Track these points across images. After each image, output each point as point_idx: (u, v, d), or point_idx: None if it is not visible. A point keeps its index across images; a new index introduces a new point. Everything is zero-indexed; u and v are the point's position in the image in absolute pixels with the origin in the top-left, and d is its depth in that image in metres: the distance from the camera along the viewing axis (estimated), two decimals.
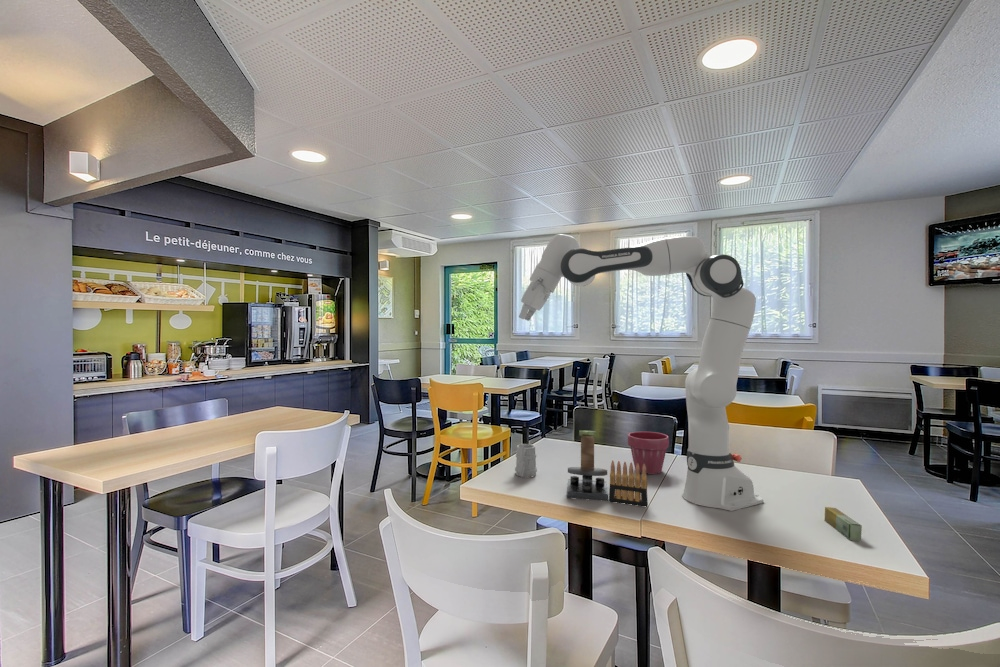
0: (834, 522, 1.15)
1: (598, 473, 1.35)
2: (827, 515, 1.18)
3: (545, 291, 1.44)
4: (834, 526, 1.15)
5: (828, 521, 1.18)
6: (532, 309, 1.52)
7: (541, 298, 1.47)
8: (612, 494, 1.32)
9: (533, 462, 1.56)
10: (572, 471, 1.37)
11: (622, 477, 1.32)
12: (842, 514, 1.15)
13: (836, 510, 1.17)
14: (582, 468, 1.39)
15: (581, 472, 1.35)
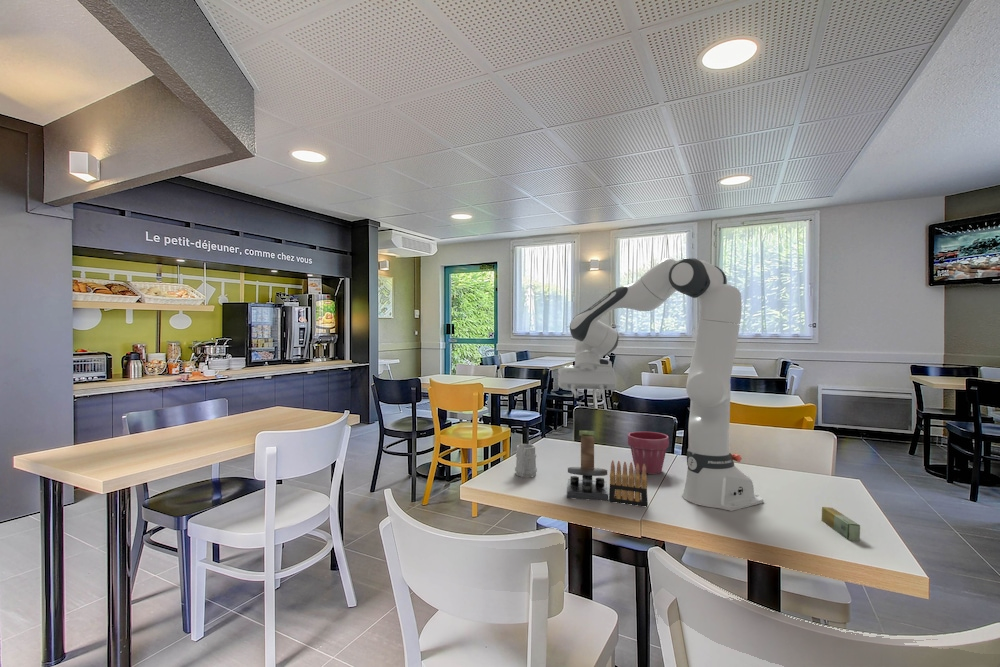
0: (832, 522, 1.15)
1: (598, 473, 1.35)
2: (824, 515, 1.18)
3: (581, 368, 1.62)
4: (832, 526, 1.15)
5: (825, 521, 1.18)
6: (599, 388, 1.57)
7: (590, 374, 1.60)
8: (612, 494, 1.32)
9: (533, 462, 1.56)
10: (572, 471, 1.37)
11: (622, 477, 1.32)
12: (840, 514, 1.15)
13: (833, 510, 1.17)
14: (582, 468, 1.39)
15: (581, 472, 1.35)
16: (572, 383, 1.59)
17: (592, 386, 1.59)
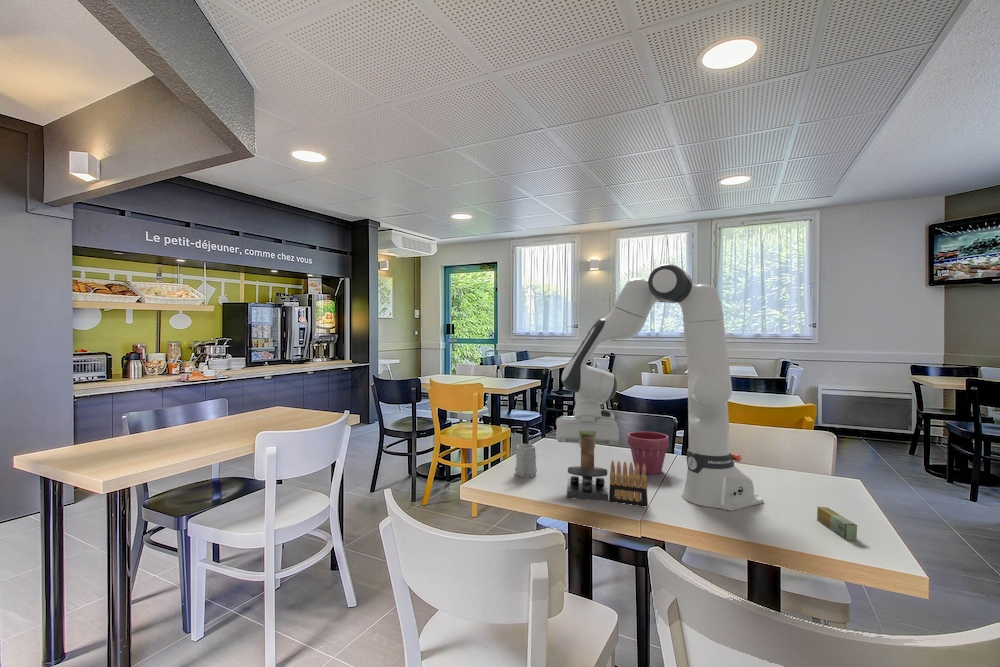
0: (828, 522, 1.15)
1: (598, 474, 1.35)
2: (820, 515, 1.18)
3: (581, 420, 1.50)
4: (828, 526, 1.15)
5: (821, 521, 1.18)
6: None
7: (590, 428, 1.48)
8: (612, 494, 1.32)
9: (533, 462, 1.56)
10: (572, 472, 1.37)
11: (622, 477, 1.32)
12: (836, 514, 1.15)
13: (829, 510, 1.17)
14: (582, 468, 1.39)
15: (581, 473, 1.35)
16: (571, 437, 1.47)
17: None
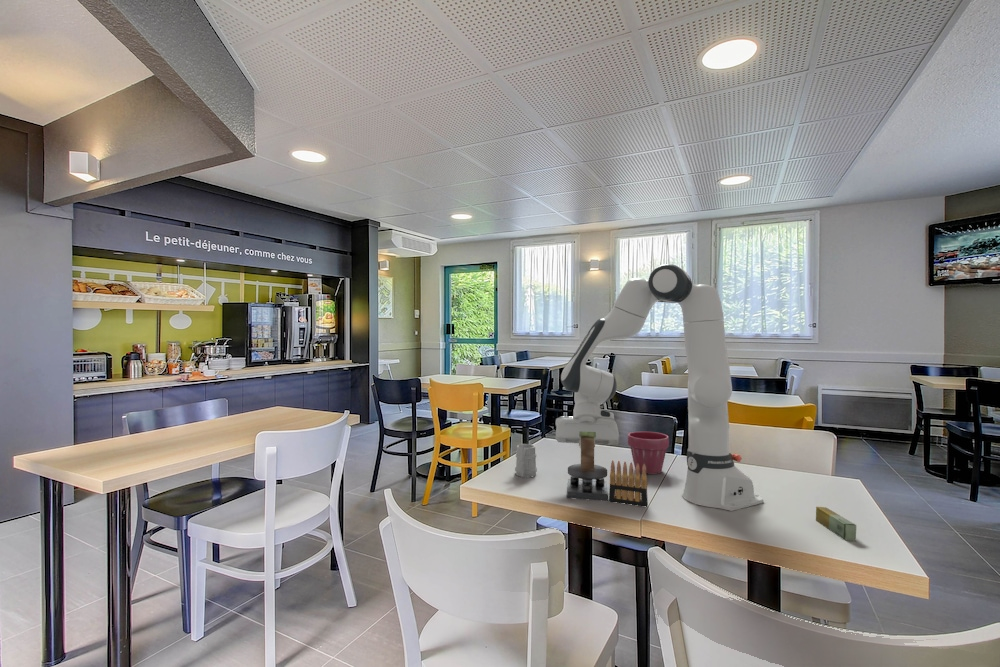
0: (827, 522, 1.15)
1: (598, 476, 1.34)
2: (818, 515, 1.18)
3: (580, 420, 1.49)
4: (827, 526, 1.15)
5: (820, 521, 1.18)
6: None
7: (590, 428, 1.47)
8: (612, 494, 1.32)
9: (533, 462, 1.56)
10: (572, 474, 1.37)
11: (622, 477, 1.32)
12: (834, 514, 1.15)
13: (828, 510, 1.18)
14: (582, 469, 1.38)
15: (581, 476, 1.35)
16: (570, 438, 1.46)
17: None
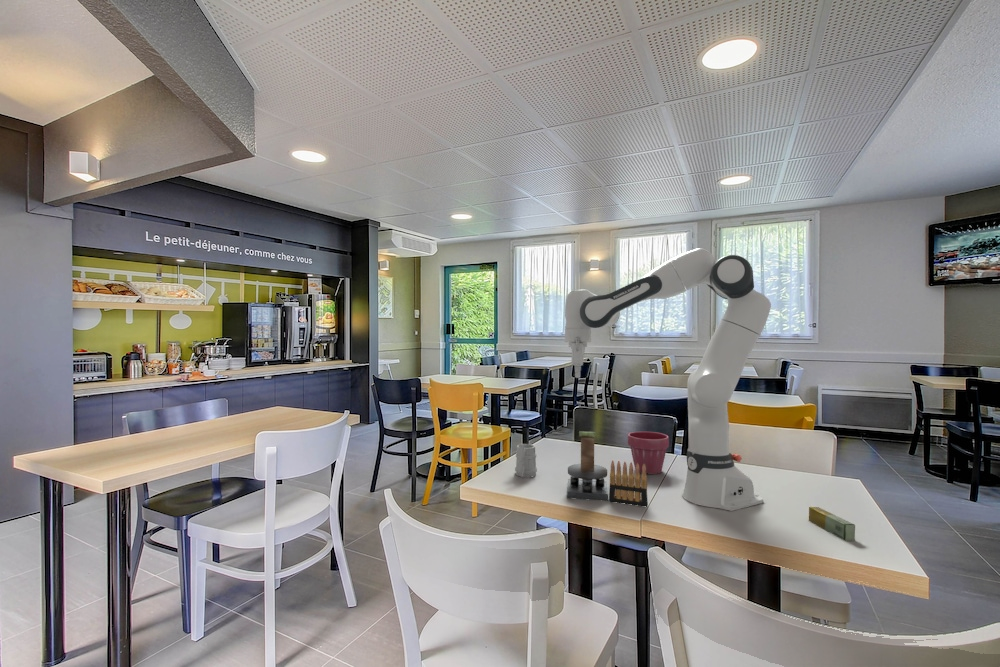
0: (823, 523, 1.15)
1: (598, 476, 1.34)
2: (812, 515, 1.18)
3: (584, 345, 1.53)
4: (823, 526, 1.15)
5: (814, 521, 1.17)
6: None
7: None
8: (612, 494, 1.32)
9: (533, 462, 1.56)
10: (572, 474, 1.37)
11: (622, 477, 1.32)
12: (829, 513, 1.15)
13: (821, 509, 1.18)
14: (582, 469, 1.38)
15: (581, 476, 1.35)
16: None
17: None
